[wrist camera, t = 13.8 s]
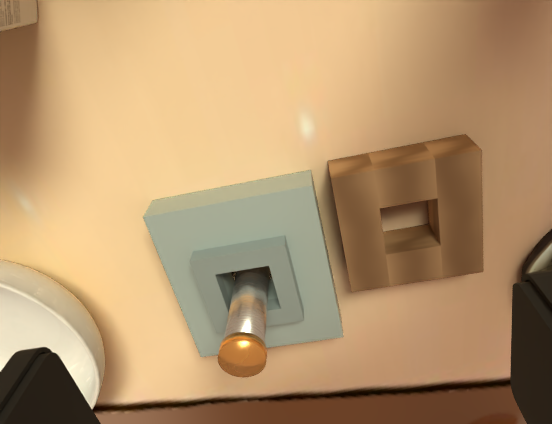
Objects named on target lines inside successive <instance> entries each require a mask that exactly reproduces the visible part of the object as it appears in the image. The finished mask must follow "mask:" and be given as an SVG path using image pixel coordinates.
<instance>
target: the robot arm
mask: <svg viewBox="0 0 552 424" xmlns="http://www.w3.org/2000/svg"><path fill="white" fill-rule="evenodd" d="M511 388H512V392H513V395H514V398H515V400H516V403H517V405H518V406H519V409H520V411H521V413H522V415H523V417H524V418H525V421H526V422H527V424H552V270H547V271H540V272H533V273H527V274H524V275H523V277H522V282H521V283H515V284H514V285H513V297H512V339H511ZM0 424H100V422H99V420H98V419H97V417H96V415H95V414H94V412H93V410H92V409H91V407H90V406H89V404H88V402H87V401H86V399H85V397H84V396H83V394H82V393H81V391H80V389H79V388H78V386H77V384H76V383H75V381H74V379H73V378H72V376H71V375H70V373H69V371H68V370H67V368H66V366H65V365H64V363H63V362H62V360H61V358H60V357H59V356H58V354H56V353H53V352H52V351H51V350H50V349H49V348H47V347H39V348H33V349H26V350H20V351H17V352H15V353H14V354H13V355H12V356H11V358H10V359H9V361H8V362H7V363H6V365H5V366H4V368H3V369H2V370H1V372H0Z"/></svg>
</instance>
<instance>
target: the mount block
mask: <svg viewBox="0 0 552 424" xmlns="http://www.w3.org/2000/svg"><path fill="white" fill-rule="evenodd" d="M328 165H329V171H330V177H331V183H332V188H333V193H334V199H335V204H336V210H337V215H338V221H339V226H340V231H341V237H342V242H343V248H344V253H345V258H346V264H347V269H348V275H349V280H350V286H351V291H352V292H356V291H362V290H369V289H375V288H382V287H388V286H395V285H401V284H408V283H414V282H421V281H427V280H434V279H440V278H447V277H453V276H460V275H466V274H473V273H479V272H483V209H482V150H481V149H480V148H479V147H478V146H477V145H476V144H475V143H474V142H473V141H472V140H471V139H470V138H469V137H468V136H467V135H466V134H464V135H459V136H453V137H448V138H443V139H438V140H433V141H428V142H423V143H417V144H412V145H407V146H402V147H397V148H392V149H387V150H382V151H376V152H371V153H366V154H361V155H356V156H351V157H346V158H340V159H335V160H330V161H328ZM425 200H428V212H429V224H427V225H421V226H415V227H409V228H404V229H398V230H392V231H386V232H383V229H382V222H381V214H380V208H385V207H391V206H397V205H402V204H408V203H414V202H419V201H425Z"/></svg>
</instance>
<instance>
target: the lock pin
mask: <svg viewBox="0 0 552 424" xmlns="http://www.w3.org/2000/svg"><path fill="white" fill-rule="evenodd" d="M269 277H270V268H269V266H264V267H258V268H252V269H246V270H240V271H236V276H235V282H234V287H233V293H232V298H231V304H230V309H229V315H228V320H227V326H226V331H225V337H224V339H223V340H222V342H221V344H220V349H219V354H218V362H219V365H220V366H221V368H222V369H223V370H224V371H225V372H227V373H229V374H231V375H233V376H237V377H250V376H254V375H256V374H258V373H260V372H261V371H262V370H263V369H264V367H265V365H266V356H267V347H266V344H265V332H266V318H267V304H268V290H269Z"/></svg>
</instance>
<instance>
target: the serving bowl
mask: <svg viewBox="0 0 552 424" xmlns="http://www.w3.org/2000/svg"><path fill="white" fill-rule="evenodd" d="M39 347H47V348H49V349H50V350H51V351H52V352H53V353H56V354H58V356H59V357H60V358H61V360H62V362H63V363H64V365H65V366H66V368H67V370H68V371H69V373H70V375H71V376H72V378H73V379H74V381H75V383H76V384H77V386H78V388H79V389H80V391H81V393H82V394H83V396H84V397H85V399H86V401H87V402H88V404H89V406H90V407H91V409H93V408H94V406H95V404H96V402H97V400H98V397H99V394H100V390H101V387H102V383H103V378H104V372H105V352H104V346H103V341H102V338H101V335H100V332H99V330H98V327H97V325H96V323H95V321H94V320H93V318H92V316H91V315H90V313H89V312H88V311H87V309H86V308H85V307H84V305H83V304H82V303H81V302H80V301H79V300H78V299H77V298H76V297H75V296H74V295H73V294H72V293H71V292H70V291H69V290H67V289H66V288H65V287H63V286H62V285H61V284H59V283H58V282H56V281H55V280H53V279H52V278H50V277H48V276H46V275H44V274H42V273H40V272H38V271H36V270H34V269H32V268H29V267H26V266H23V265H20V264H17V263H14V262H10V261H5V260H0V372H1V370H2V369H3V368H4V366H5V365H6V363H7V362H8V361H9V359H10V358H11V356H12V355H13V354H14V353H15V352H17V351H20V350H26V349H33V348H39Z"/></svg>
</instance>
